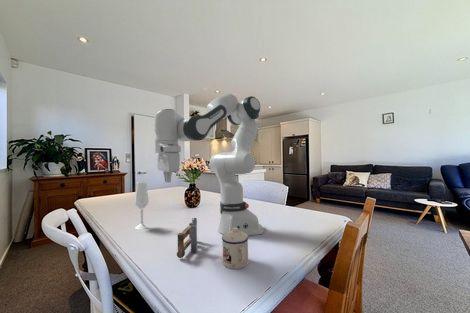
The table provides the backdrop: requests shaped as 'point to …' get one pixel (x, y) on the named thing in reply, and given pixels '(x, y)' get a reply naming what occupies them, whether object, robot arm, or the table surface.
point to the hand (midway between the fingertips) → (167, 182)
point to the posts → (194, 236)
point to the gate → (181, 244)
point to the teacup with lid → (235, 249)
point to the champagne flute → (141, 201)
